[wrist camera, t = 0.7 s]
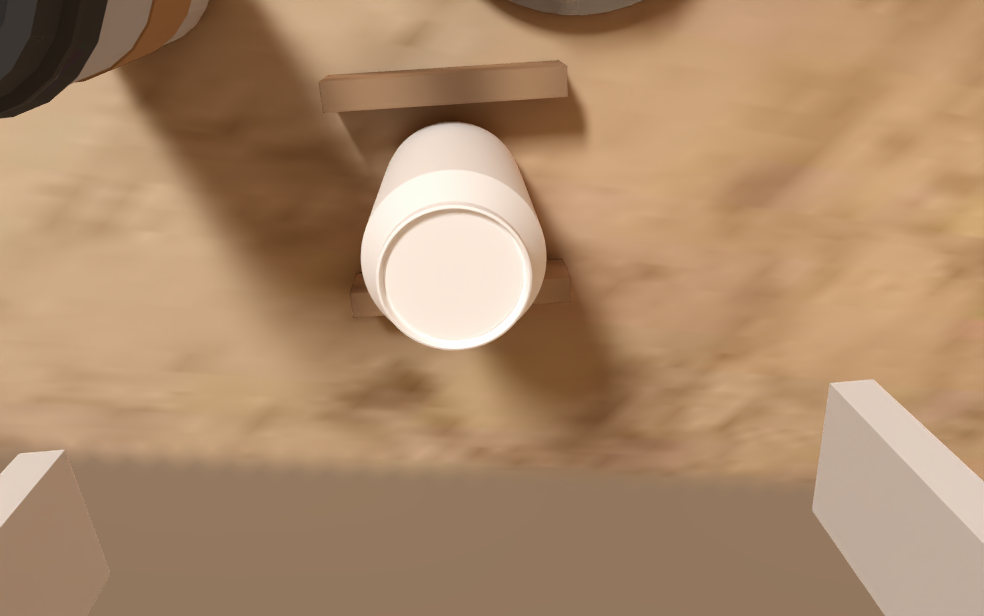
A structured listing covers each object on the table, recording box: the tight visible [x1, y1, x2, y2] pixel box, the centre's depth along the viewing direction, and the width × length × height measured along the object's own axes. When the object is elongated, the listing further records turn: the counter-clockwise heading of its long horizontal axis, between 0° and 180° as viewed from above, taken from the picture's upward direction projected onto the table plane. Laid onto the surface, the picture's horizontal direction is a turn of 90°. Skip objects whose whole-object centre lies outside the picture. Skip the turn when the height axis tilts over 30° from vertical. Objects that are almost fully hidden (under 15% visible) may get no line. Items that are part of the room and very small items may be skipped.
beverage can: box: [361, 121, 546, 350], centre depth 28 cm, size 6×6×12 cm
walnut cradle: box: [319, 60, 570, 318], centre depth 32 cm, size 10×10×2 cm
